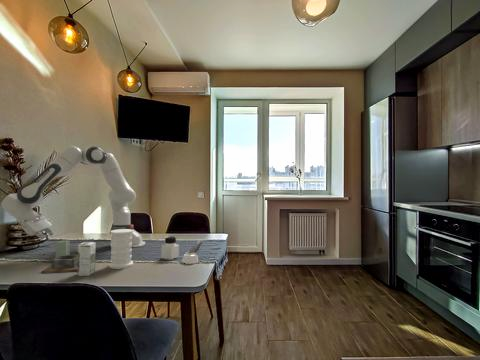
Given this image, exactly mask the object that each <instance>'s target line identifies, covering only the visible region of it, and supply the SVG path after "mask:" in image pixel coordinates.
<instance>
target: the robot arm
mask: <svg viewBox="0 0 480 360" xmlns="http://www.w3.org/2000/svg"><path fill="white" fill-rule="evenodd" d="M79 164H83V165H86V166H87V165H89V166H92V165H98V166H99V168H100V170H101V172H102V175H103V178H104V179H105V181H106V184H107V185H108V186H109V187H110V188H111V189H110V191H109V192H108V198H109V201H110V205H111V208H112V209H111V210H112V226H111V231H112V230H117V229H131V230H133V233H132V234H131V236H132V240H131V243H132V246H131V248H135V247H143V246H145V245H146V241H144V240H143V238H142V235H141V233H140V232H138V231H136V230H135V229H134V224H132V223H131V211H130V208H129V204H130V205H131V204H132V203H134V202H135V201H136V199H137V193H136V192H135V190H134V189H133V188H132V187H131V186H130V184H129V182H128V181H127V180H126V179H125V176H124V174H123V172H122V169H121V167H120V165H119V162H118V161H117V159H116V157H115V156H114V154H113V153H110V152H106V151H104V150H103V149H102V148H100V147H99V146H89V147H88V146H87V147H85V148H82V149H81V148H79V147H78V146H74V145H69V146H68V147H66V148H65V149H64V150H62V151H61V152H60V153H59V154H58V155H57V156H56V157H55V158H54V159H53V160H52V161H51V162H50V163H49V165H48V166H47V167H46V168H45V169H44V170H42V171H41V172H40V173H39V175H37V176H36V177H35V178H34V179H33V180H32V181H30V182H28V183H26V184H24V185H22V186H20V187H19V188H18V189H17V192H16V193H9V194H8V195H6V196H5V197H3V199H2V200H1V204H0V205H1V207H2V208H3V209H4V211H5V212H7V214H8V215H9V216H11V217H13V218H14V219H15V221H16V222H18V224H19V225H21V227H20V228H21V229H22V230H23V231H24V232H25V233H26V234H27V235H28V236H30V237H32V236H36V237H38V238H40V239H41V240H45V239H47V236H46V235H45V234H43V232H46V233H48V235H49V236H50V237H53V236H54V235H55V232H53V230H52V227H53V225H52V223H51V222H50V221H49V220H48V219H47V218H46V217H44V214H42V213H41V212H37V211H35V210H34V208H36V207H38V206H40V205H41V204H43V202H44V199H45V198H44V197H45V196H44V195H43V190H44V189H45V187H47V186H48V184H50V183H51V182H52V181H53V180H54V179H55V178H58V177H66V176H67V175H68V174H71V172H72V171H73V170H74V169H75V168H76V166H78V165H79ZM111 244H112V241H111V240H110V244H109V246H110V247H111Z"/></svg>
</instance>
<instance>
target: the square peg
mask: <svg viewBox="0 0 480 360" xmlns="http://www.w3.org/2000/svg"><path fill="white" fill-rule="evenodd" d="M70 243H71V242H70V240H69V239H68V240H67V239H66V240H64V239H63V240H59V241H56V242H55V258H57V257H58V256H60V255H71V254H70V251H71V250H70V248H71V247H70Z"/></svg>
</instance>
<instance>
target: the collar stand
mask: <svg viewBox="0 0 480 360" xmlns="http://www.w3.org/2000/svg"><path fill="white" fill-rule="evenodd" d="M77 263H78V254H70V255H60V256H58V257H57V258H56V257H55V258H54V259H51V265H49V266H47V267H46V268H44V269H42V270H41V274H46V273H51V274H52V273H67V272H71V273H72V272H77Z"/></svg>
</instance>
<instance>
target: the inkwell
mask: <svg viewBox="0 0 480 360" xmlns="http://www.w3.org/2000/svg"><path fill="white" fill-rule="evenodd" d="M203 243H204V241H203V240H197V241H196V242H195V243H194V244H193V245H192V246H191V248H190V250H189V251H187V252H185V253H184V254H183V257H182V259H181V263H182V264H184V263H185V264H186V265H194V264H198V263H199V257H198V256H199V255H198V254H197V252H198V251H199V250H200V248H201V246H202V244H203ZM185 264H184V265H185Z"/></svg>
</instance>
